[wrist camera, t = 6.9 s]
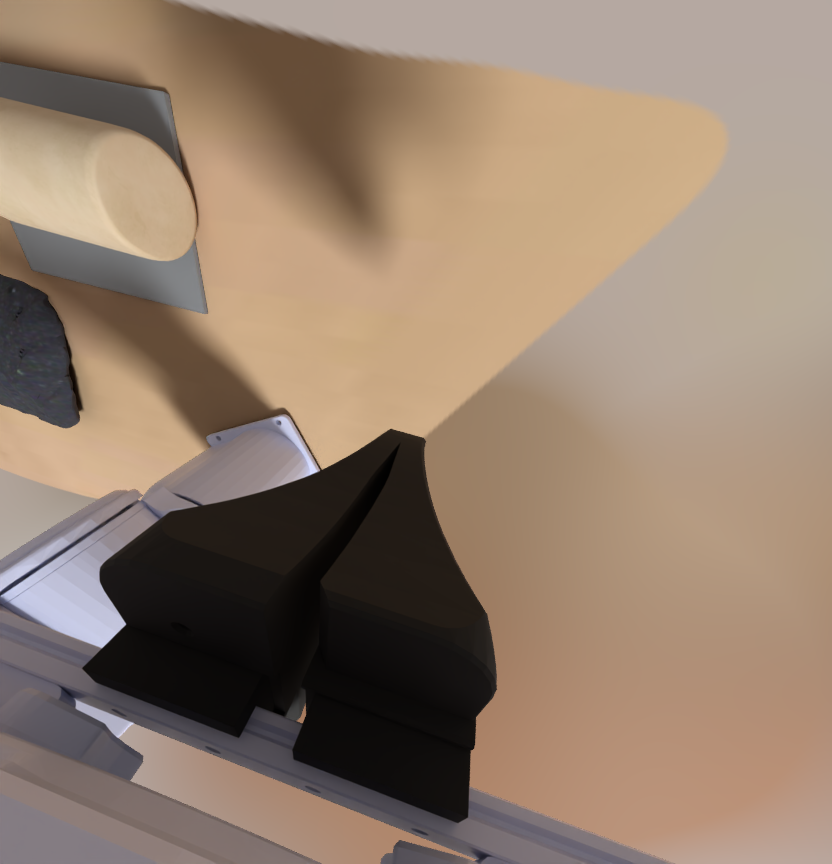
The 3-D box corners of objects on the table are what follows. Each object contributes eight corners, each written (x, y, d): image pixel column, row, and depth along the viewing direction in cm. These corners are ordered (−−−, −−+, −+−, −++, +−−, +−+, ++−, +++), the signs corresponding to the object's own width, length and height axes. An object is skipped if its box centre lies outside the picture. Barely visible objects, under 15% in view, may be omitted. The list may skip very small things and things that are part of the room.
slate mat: (169, 94, 15) (163, 91, 15) (208, 313, 21) (204, 313, 21) (-58, 53, 17) (-66, 49, 16) (36, 270, 22) (31, 270, 22)
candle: (188, 279, 18) (50, 240, 19) (207, 187, 18) (63, 151, 18) (79, 224, 13) (-110, 173, 14) (101, 89, 12) (-97, 43, 13)
